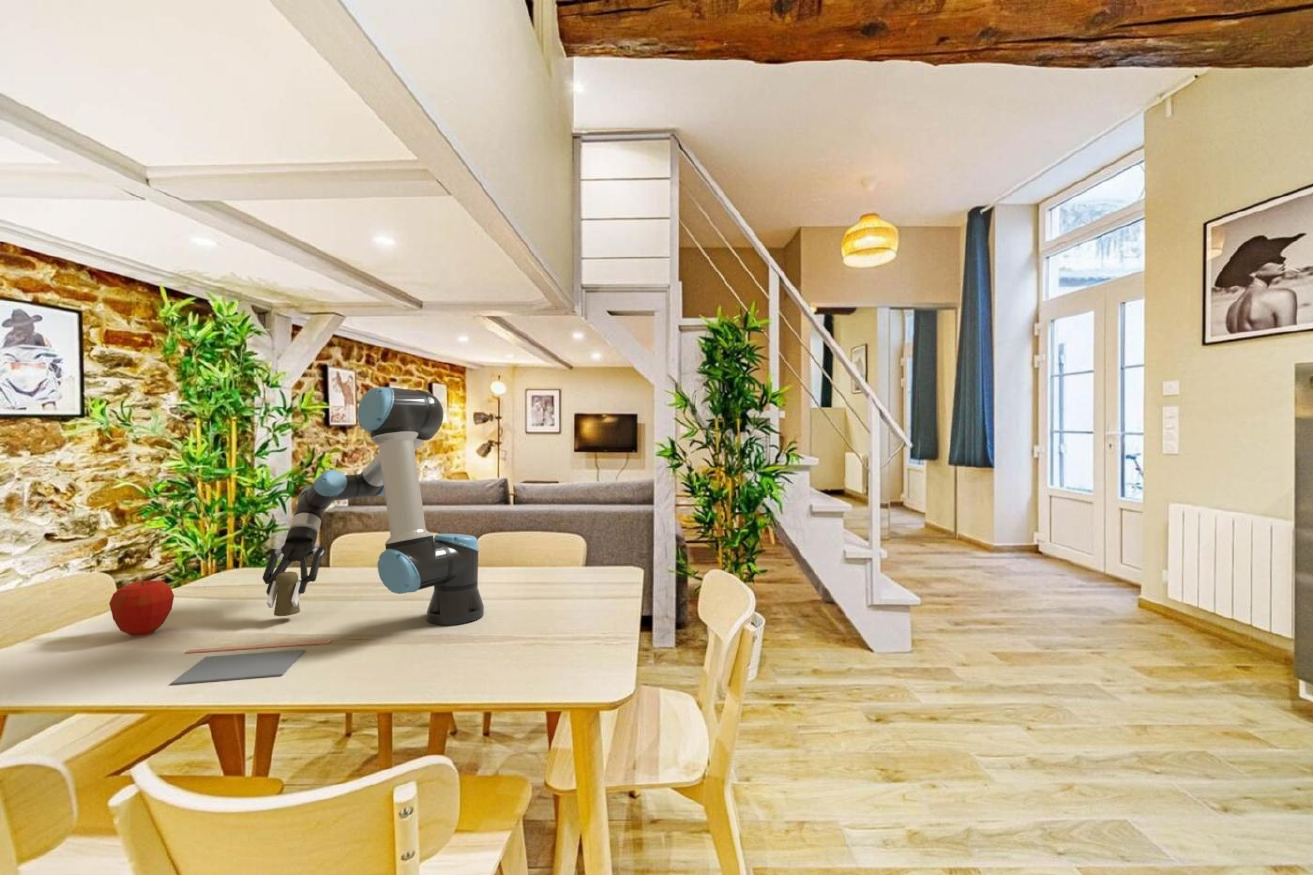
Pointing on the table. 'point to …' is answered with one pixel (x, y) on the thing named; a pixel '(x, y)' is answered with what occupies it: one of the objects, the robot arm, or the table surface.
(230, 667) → the mat
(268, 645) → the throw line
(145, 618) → the apple
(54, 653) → the table surface
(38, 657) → the table surface
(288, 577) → the cork
